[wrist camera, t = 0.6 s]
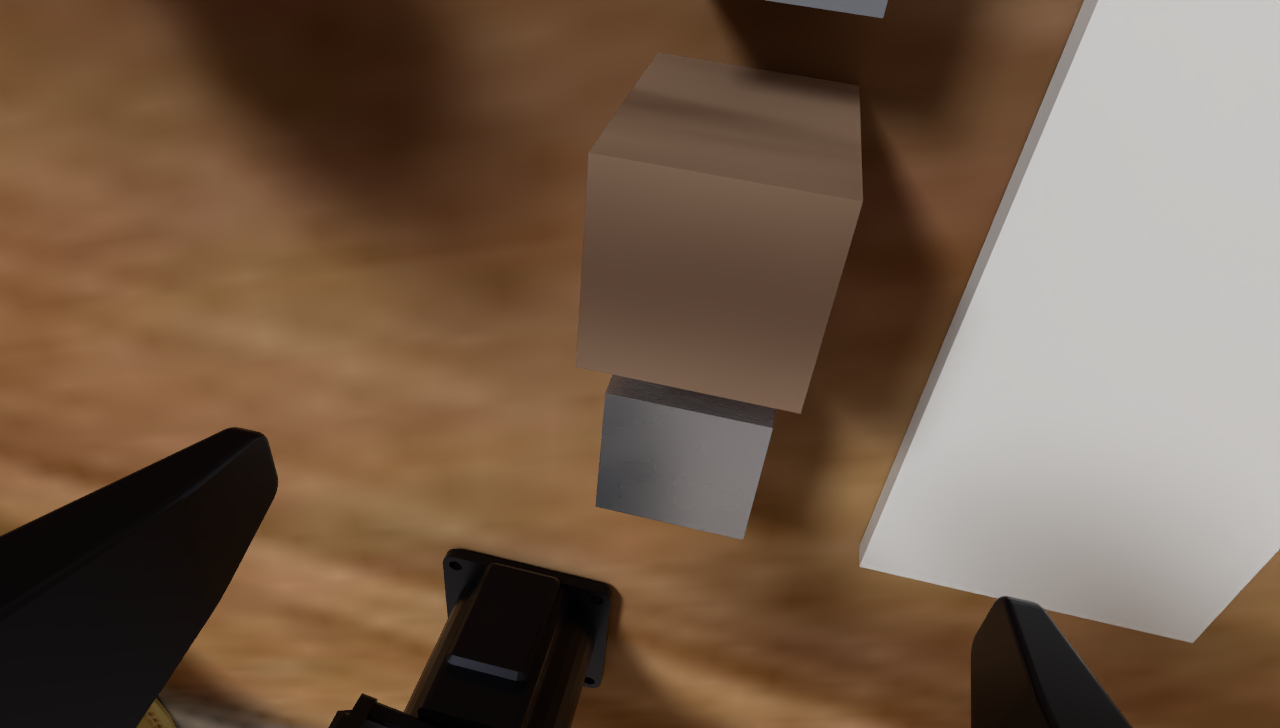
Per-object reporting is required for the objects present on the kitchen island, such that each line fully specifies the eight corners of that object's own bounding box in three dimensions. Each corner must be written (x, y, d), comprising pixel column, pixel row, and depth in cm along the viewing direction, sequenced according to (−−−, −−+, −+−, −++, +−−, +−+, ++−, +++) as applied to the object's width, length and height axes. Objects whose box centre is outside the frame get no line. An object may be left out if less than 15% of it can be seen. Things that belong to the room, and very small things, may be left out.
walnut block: (811, 263, 20) (800, 413, 15) (638, 230, 20) (575, 366, 16) (859, 85, 17) (863, 201, 12) (657, 52, 18) (588, 152, 13)
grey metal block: (757, 439, 24) (743, 539, 21) (627, 411, 24) (595, 506, 21) (784, 331, 21) (773, 428, 18) (640, 303, 22) (605, 393, 19)
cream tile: (1183, 620, 24) (1192, 643, 24) (859, 547, 25) (858, 566, 25) (1856, -142, 12) (1912, -138, 11) (1175, -222, 13) (1191, -221, 13)
